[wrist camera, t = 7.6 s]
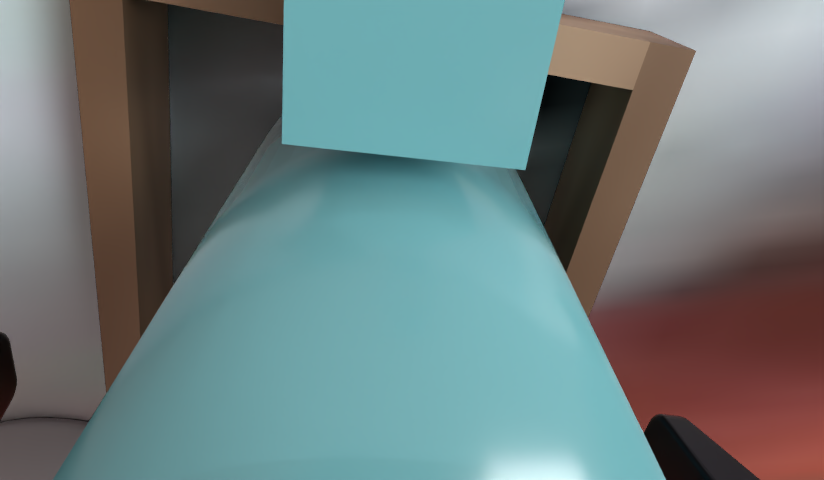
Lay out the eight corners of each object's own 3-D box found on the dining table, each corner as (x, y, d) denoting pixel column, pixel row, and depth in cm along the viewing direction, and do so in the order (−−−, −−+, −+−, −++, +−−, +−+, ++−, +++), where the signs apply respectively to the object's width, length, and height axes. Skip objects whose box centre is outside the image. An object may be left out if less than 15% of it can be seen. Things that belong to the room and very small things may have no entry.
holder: (649, 31, 11) (696, 50, 10) (514, 404, 16) (529, 463, 14) (120, -74, 10) (62, -73, 8) (142, 358, 15) (108, 416, 13)
